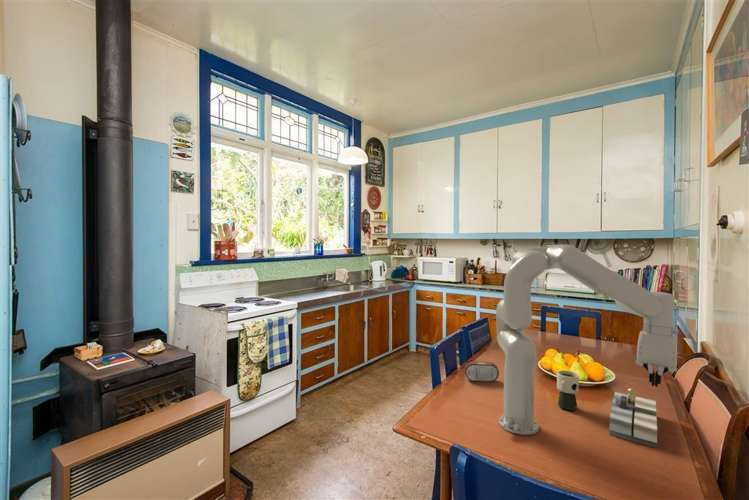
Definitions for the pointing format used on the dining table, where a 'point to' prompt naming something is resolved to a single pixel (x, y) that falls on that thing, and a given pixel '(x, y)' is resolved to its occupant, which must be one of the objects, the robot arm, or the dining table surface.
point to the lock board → (634, 420)
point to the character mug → (567, 389)
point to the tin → (481, 371)
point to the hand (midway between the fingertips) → (654, 385)
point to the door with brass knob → (629, 398)
